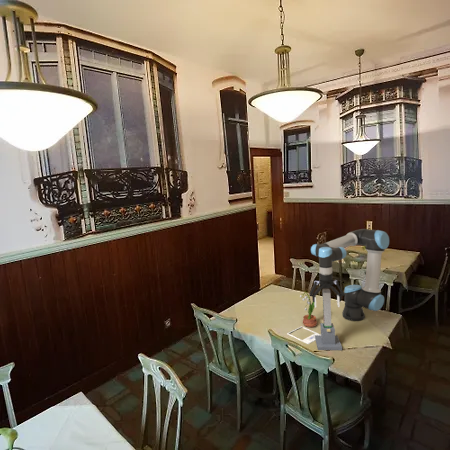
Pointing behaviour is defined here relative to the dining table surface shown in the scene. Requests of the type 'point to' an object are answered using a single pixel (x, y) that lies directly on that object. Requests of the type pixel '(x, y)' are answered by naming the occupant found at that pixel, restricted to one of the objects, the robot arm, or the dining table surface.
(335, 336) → the jack stand
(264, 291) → the dining table surface
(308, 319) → the potted flower
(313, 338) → the photo frame
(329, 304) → the post
